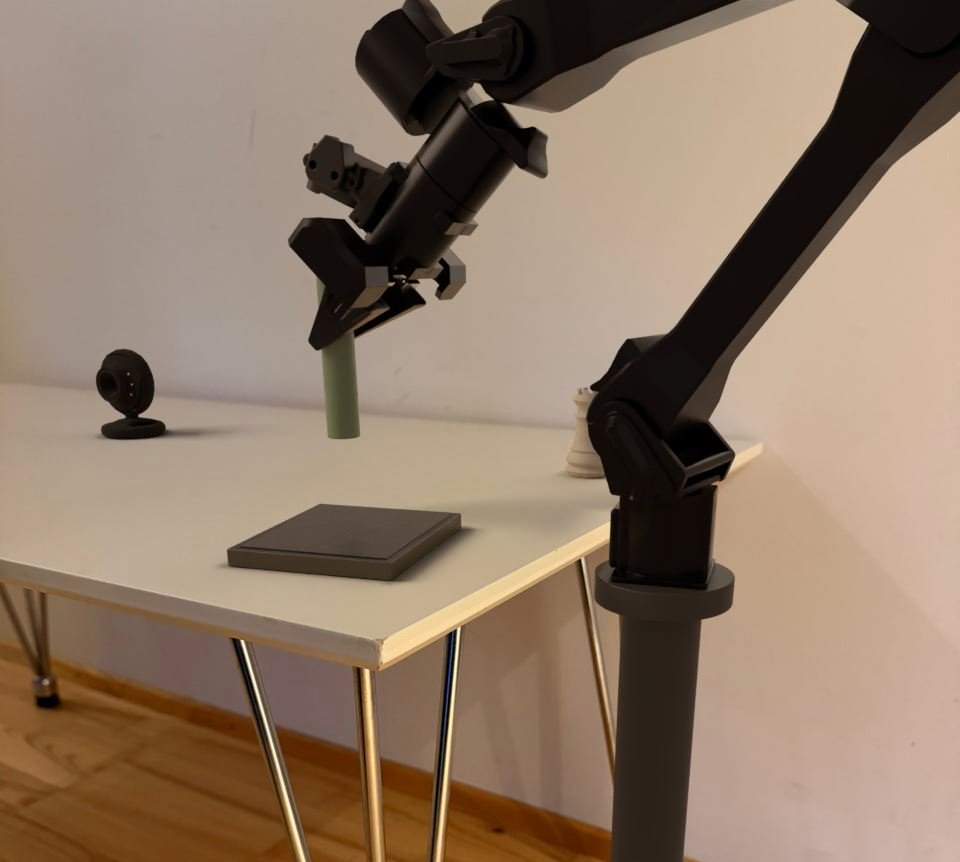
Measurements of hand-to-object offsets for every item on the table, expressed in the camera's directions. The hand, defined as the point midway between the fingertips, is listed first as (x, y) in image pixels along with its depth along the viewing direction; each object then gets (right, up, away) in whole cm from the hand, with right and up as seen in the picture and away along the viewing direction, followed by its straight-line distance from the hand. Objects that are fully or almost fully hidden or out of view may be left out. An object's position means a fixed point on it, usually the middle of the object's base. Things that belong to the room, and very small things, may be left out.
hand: (322, 344), depth 77 cm
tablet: (+3, -16, -5) cm, 17 cm away
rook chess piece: (+23, -7, +18) cm, 30 cm away
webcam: (-30, +2, +43) cm, 52 cm away
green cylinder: (+1, -7, +2) cm, 7 cm away
